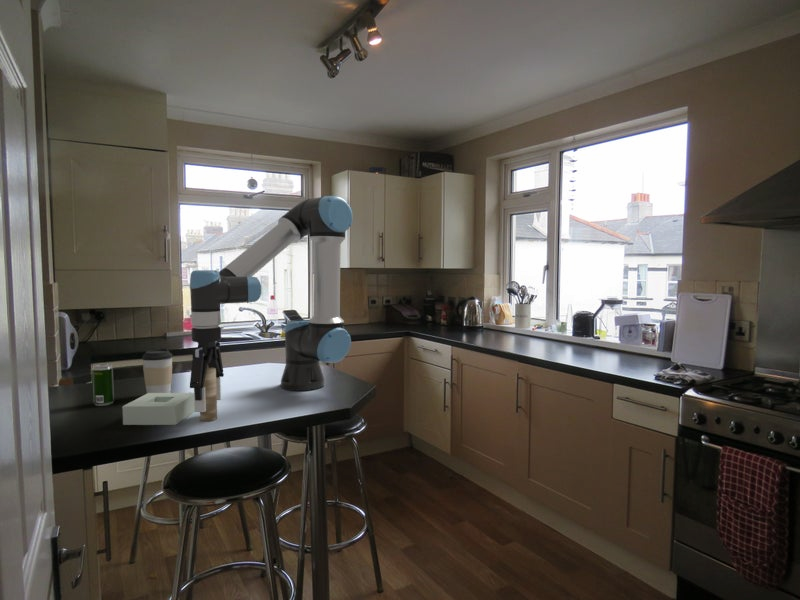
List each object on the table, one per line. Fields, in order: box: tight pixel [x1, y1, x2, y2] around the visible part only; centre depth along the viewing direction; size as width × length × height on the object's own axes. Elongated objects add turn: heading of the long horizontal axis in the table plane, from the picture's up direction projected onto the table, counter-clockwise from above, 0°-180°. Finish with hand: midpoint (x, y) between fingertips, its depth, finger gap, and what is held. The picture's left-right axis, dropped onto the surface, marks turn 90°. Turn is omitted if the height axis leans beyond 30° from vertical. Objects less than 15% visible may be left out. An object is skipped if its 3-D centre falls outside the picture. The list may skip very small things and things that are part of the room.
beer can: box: [91, 363, 115, 407], centre depth 155 cm, size 5×5×12 cm
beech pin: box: [199, 367, 218, 423], centre depth 140 cm, size 4×4×14 cm
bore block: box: [121, 392, 195, 426], centre depth 142 cm, size 14×14×5 cm
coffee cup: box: [141, 347, 173, 394], centre depth 164 cm, size 9×9×15 cm
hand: (208, 405), depth 140 cm, fingers open, 11 cm apart
